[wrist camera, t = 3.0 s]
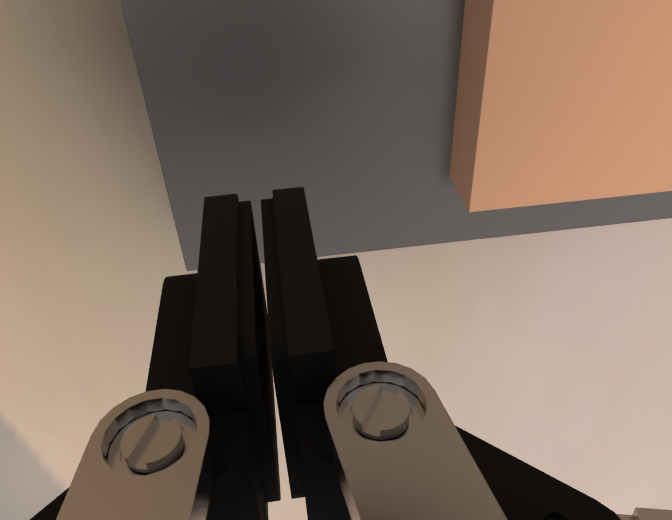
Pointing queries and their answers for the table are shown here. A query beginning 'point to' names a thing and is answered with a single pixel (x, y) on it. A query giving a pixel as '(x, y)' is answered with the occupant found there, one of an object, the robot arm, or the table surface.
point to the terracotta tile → (562, 101)
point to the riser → (326, 120)
